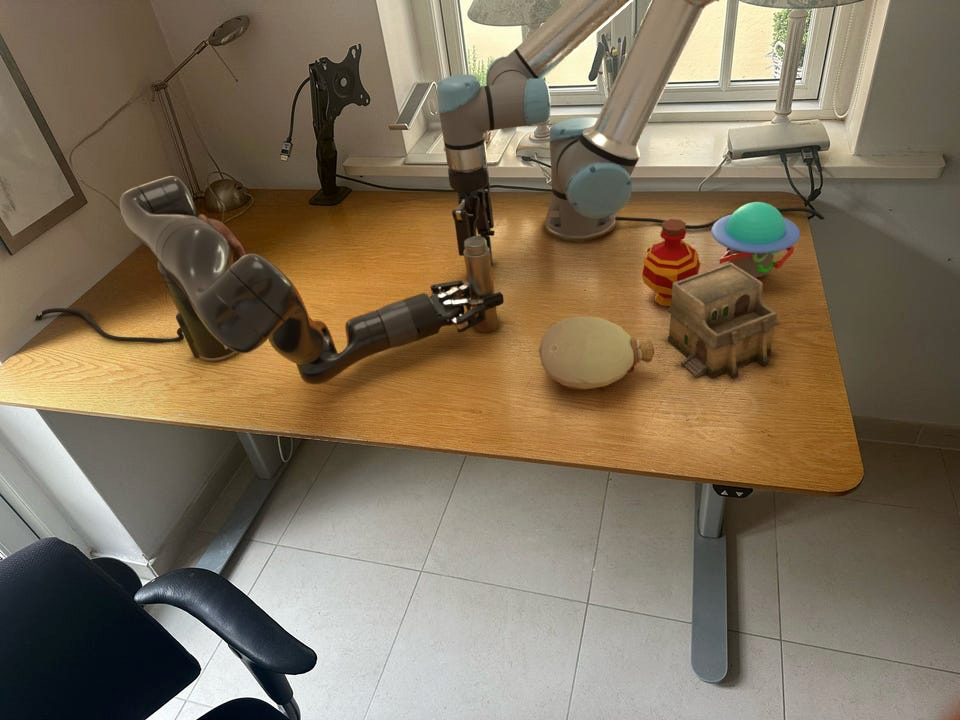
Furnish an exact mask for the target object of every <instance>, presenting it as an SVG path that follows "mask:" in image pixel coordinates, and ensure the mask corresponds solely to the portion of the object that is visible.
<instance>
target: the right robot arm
mask: <svg viewBox="0 0 960 720" xmlns="http://www.w3.org/2000/svg"><path fill="white" fill-rule="evenodd" d="M633 1H634V0H567V1H566V2H565V3H563V5H562V6H560V8H558V9H556V11H555V12H554V13H553V14H551V16H550V17H548V18H547V19H546V20H545V21H544V22H543V23H542V24H541V25H540V26H539V27H538V28H536V29H535V30H534V31H533V32H532V33H531V34H530V35H529V36H528V37H527V38H525V39H524V40H523V41H522V42H521V43H520V44H519V45H517V47H516V48H515V49H513V50H512V51H511V52H509V54H508V55H506V56H500V57H497V58H495V59H494V60H492V62H491V63H490V64H489V66H488V68H487V70H486V75H485V80H486V81H485V82H486V83H485V84H486V85H481V83H480V80H479V78H478V77H477V76H476V75H473V74H467V73H466V74H454V75H449V76H447V77H445V78H443V79H442V80H441V81H439V82H438V84H437V87H436V95H437V96H436V97H437V105H438V106H437V107H438V114H439V119H440V120H439V121H440V126H441V127H440V128H441V132H442V138H443V139H442V140H443V151H444V153H445V158H446V165H447V167H448V168H447V175H448V182H449V186H450V188H451V189H452V190H453V191H455V192H456V193H457V194H458V195H457V203H458V206H457V209H456V208H455V209H452V211H451V215H452V218H453V221H454V228H455V234H456V242H457V249H458V250H457V251H458V255H459V257H464V249H465V247H464V244H465V243H464V241H465V240H466V239H468V238H470V237H473V236H477V234H478V236H481V237H484V238H485V239H486V241H487V246H488V247H489V249H490V251H491V256H492V257H493V252H492V244H491V242H492V241H491V237H494V236H495V230H492V229H494V227H495V223H494V214H493V206H492V198H491V182H490V172H489V165H488V163H487V162H488V153H487V144H486V135H485V132H490V131H497V130H498V131H499V130H504V129H512V128H513V129H514V128H520V127H521V128H522V127H531V126H533V125H534V126H535V125H538V124H543V123H546V122H547V121H549V119H550V117H551V96H550V91H549V90H550V89H549V85H548V82H547V81H546V80H545V78H546V77H547V76H548V75H550V74H551V73H552V72H553V71H554V70H555V69H556V68H557V67H559V65H561V64H562V63H563V62H564V61H565V60H567V59H568V58H569V57H570V56H571V55H572V54H573V53H574V52H575V51H577V50H578V49H579V48H580V47H581V46H582V45H583V44H585V43H586V42H587V41H588V40H589V39H590V38H592V37H593V36H594V35H595V34H596V33H597V32H599V31H600V30H601V29H602V28H603V27H605V26H606V25H607V24H608V23H609V22H610V21H611V20H612V19H613V18H614V17H616V16H617V15H618V14H619V13H620V12H621V11H622V10H624V9H625V8H627V6H628V5H629V4H630V3H632V2H633ZM719 2H720V0H651V1H650V3H649V5H648V7H647V10H646V11H645V14H644V16H643V18H642V20H641V22H640V25H639V27H638V29H637V31H636V33H635V36H634V38H633V40H632V42H631V44H630V47H629V49H628V51H627V53H626V55H625V58H624V60H623V62H622V64H621V66H620V68H619V70H618V72H617V75H616V78H615V79H614V81H613V84H612V86H611V88H610V90H609V93H608V95H607V96H606V97H607V98H606V99H605V102H604V104H603V106H602V107H601V110H600V112H599V115H598V117H577V118H576V117H575V118H570V119H569V118H568V119H564V120H561V121H558V122H556V123H555V124H553V125H552V126H551V127H550V129H549V135H548V137H549V138H548V143H549V155H550V174H551V175H550V176H551V188H552V189H551V190H552V191H551V193H552V194H551V198H550V202H549V206H548V209H547V213H546V216H545V229H546V232H547V233H548V234H549V236H550V235H551V236H552V237H553V238H556V239H558V240H561V241H567V242H586V241H587V242H588V241H594V240H597V239H600V238H604V237H605V236H607V235H608V234H610V233H611V232H613V230H614V229H615V227H616V223H617V221H621V222H623V221H625V222H642V223H643V222H645V223H646V222H647V223H648V222H649V223H657V224H663V222H664V221H667V220H668V219H660V218H653V217H631V216H616V214H617V213H618V212H620V211H621V210H622V209H623V208H624V207H625V206H626V205H627V203H628V201H629V200H630V198H631V195H632V193H633V180H632V173H633V171H634V170H635V167H636V165H637V164H638V162H639V160H640V158H641V154H640V150H639V147H638V143H639V141H640V140H641V138H642V135H643V133H644V131H645V129H646V128H647V125H648V124H649V122H650V119H651V117H652V115H653V113H654V111H655V109H656V107H657V105H658V103H659V101H660V99H661V97H662V96H663V93H664V91H665V89H666V88H667V86H668V83H669V81H670V79H671V77H672V76H673V73H674V71H675V70H676V68H677V65H678V63H679V61H680V59H681V58H682V56H683V53H684V51H685V49H686V47H687V45H688V43H689V41H690V39H691V37H692V35H693V33H694V32H695V29H696V27H697V25H698V23H699V21H700V19H701V17H702V15H703V13H704V11H705V10H706V9H707V8H709V7H711V6H713V5H715V4H717V3H719ZM775 208H776V209H777V210H778V211H779V212H780V213H783V212H784V213H785V212H805V213H809V214H812V215H814V216H816V217H817V218H818V219H820V220H822V221H823V220H825V217H824V216H823V215H822V214H821V213H820V212H819V211H816V210H814V209H811V208H808V207H775ZM733 213H734V212H730V213H728V214H725V215H722V216H721V217H718V218H717V219H715V220H713V221H710V222H708V223H704V224H697V225H695V224H694V225H691V224H686V226H685V230H700V229H708V228H711V227H713V225H714V224H715V223H716V222H717V221H718V220H719V219H721V218H723V217H725V216H728V215H731V214H733ZM493 265H494V261H493V258H492V262H491V267H492V266H493Z"/></svg>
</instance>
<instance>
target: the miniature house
mask: <svg viewBox="0 0 960 720" xmlns="http://www.w3.org/2000/svg"><path fill="white" fill-rule="evenodd" d="M763 288H764V284H763V282H762V281H761V280H759V279H758V278H757V277H756V278H754V277H753V276H751V275H750V274H748V273H747V272H745V271H744V270H742V269H740V268H739V267H737V266H736V265H734V264H733V263H729V262H727V263H724V264H722V265H720V266H719V265H718V266H717V267H714V268H711V269H708V270H706V271H703V272H699V274H697V275H694V276H691V277H688V278H686V279H683V280H680V281H677V282H674V283H673V286H672V301H671V306H669V308H667V309H666V312H667V313H669V314H670V315H669V316H670V318H669V330H668V332H669V333H668V336H667V342H669V343H670V345H672V346H674V348H676V349H677V351H679V352H680V353H682V354H683V355H684V356H685V357H686V358H685V359H684V360H683V361H682V362H680V366H681V367H684V368H686V369H687V370H688V371H689V372H690V373H691V374H693V377H694V378H697V377H700V376H703V375H707V376H708V377H710V378H711V379H713V378H715V377H719V376H721V375H723V374H727V375H728V376H729V377H731V378H732V379H735V378H737V377H739V371H738V368H740V367H743V366H745V365H748V364H751V363H752V362H753V363H754V362H755V361H756V362H758V364H760V365H761V366H763V367H764V366H767V365H769V359H768V356H770V355H771V354H772V345H773V339H774V333H775V327H776V326H779V325H781V322H780V321H778V312H776V311H775V310H773V309H772V308H771V307H769V306H767V305H766V304H765V302H764V301H763Z"/></svg>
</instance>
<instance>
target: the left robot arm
mask: <svg viewBox="0 0 960 720" xmlns="http://www.w3.org/2000/svg"><path fill="white" fill-rule="evenodd" d="M119 210H120V214H121V217H122V219H123V221H124V223H125V225H126V226H127V228H128V229H129V231H130V232H131V233H132V235H133V236H134V237H135V238H136V239H137V241H139V242H140V243H141V244H142V245H143V246H145V247H146V248H147V249H148V250H149V251H150V252H152V254H153V255H154V257H155V259H156V260H157V269H158V272H159V274H160V276H161V278H162V280H163V282H164V284H165V287H166V288H167V291H168V293H169V295H170V297H171V299H172V302H173V304H174V306H175V307H176V310H177V313H176V315H175V320H176V322H177V324H178V326H179V327H178V328H177V330H176V334H177V336H176V337H172V338H161V337H160V338H159V337H157V338H156V337H144V336H117V335H113V334H109V333H107V332H106V331H104V330H103V328H102V327H100V325H99V324H98V323H97V322H95V321H94V320H93V319H92V317H90V315H89V314H87V312H85V311H83V310H81V309H77V308H66V307H53V308H46V309H44V310H41V311H42V315H40V316H38V315H37V314H36V316H35V321H38V320H41V319H42V317H43V316H46V315H48V314H52V313H53V314H55V313H62V314H63V313H65V314H74V315H80V316H81V317H83V318H84V320H86V322H87V323H88V324H89V325H90V326H92V327H93V328H94V329H95V331H96V332H97V334H99V335H100V336H102V337H103V338H105V339H107V340H111V341H115V342H123V343H152V344H153V343H155V344H163V343H178V342H182V341H183V340H184V338H185V340H186V342H187V345H188V347H189V348H190V351H191V353H192V355H193V357H194V359H200V360H201V361H204V362H208V363H209V362H210V363H214V362H215V363H216V362H221V361H225V360H228V359H230V358H233V357H235V356H236V355H238V354H239V353H240V354H249V353H252V352H254V351H256V350H257V349H258V348H260V347H261V346H263V345H264V343H266V342H267V341H269V343H270V346H271V347H272V349H274V351H275V352H276V353H278V354H279V355H280V356H282V357H283V358H285V359H286V360H287V361H289V362H291V363H294V364H295V365H296V367H297V370H298V373H299V376H300V378H301V380H302V381H303V382H305V383H306V384H308V385H313V386H314V385H315V386H316V385H317V386H318V385H319V386H320V385H322V384H326V383H328V382H330V381H331V380H334V378H336V377H337V376H339V375H340V374H342V373H343V372H344V371H346V370H347V369H349V368H351V367H352V366H353V365H355V364H357V363H358V362H361V361H362V360H364V359H366V358H368V357H370V356H373V355H376V354H379V353H382V352H385V351H387V350H391V349H395V348H400V347H404V346H407V345H409V344H412V343H416V342H418V341H421V340H424V339H427V338H429V337H433V336H435V335H438V334H439V332H440V329H441V328H442V327H446V326H447V327H448V326H454V327H456V329H457V332H458V333H460V334H462V333H464V332H466V331H468V330H469V329H472V328H474V327H475V325H476V324H478V323H480V322H481V321H483V320H485V319H486V315H485V311H486V310H488V309H491V308H494V307H496V308H497V307H499V306H501V305H503V304H504V302H505V301H504V300H505V299H504V294H503V293H502V292H501V291H498V292H494V293H495V294H492V295H489V296H486V297H483V298H482V299H476V300H470V293H469V286H468V282H467V283H464V281H463V280H462V279H459V280H453V281H446V282H440V283H433V284H431V285H430V291H431V295H428V294H427V293H426V292H422V293H419V294H416V295H413V296H410V297H407V298H404V299H401V300H398V301H394V302H392V303H389V304H387V305H384V306H382V307H380V308H378V309H375V310H373V311H369V312H366V313H364V314H360V315H357V316H354V317H351V318H349V319H348V320H347V321H346V322H345V324H344V330H345V338H346V347H344V349H343V350H342V351H340V352H338V350H337V347H336V345H335V341H334V339H333V336H332V334H331V331H330V329H329V327H328V325H327V324H326V323H325V322H324V321H322V320H313V319H312V318H311V317H310V316H309V313H308V310H307V307H306V304H305V302H304V299H303V298H302V296H301V294H300V292H299V291H298V288H297V287H296V286H295V285H294V283H293V282H292V281H291V280H290V279H289V277H288V276H287V275H286V274H285V273H284V272H283V271H282V270H281V269H279V267H277V266H276V265H275V264H274V263H272V262H271V261H270V260H269V259H268V258H266V257H264V256H262V255H261V254H258V253H253V252H249V253H245V255H244V256H242V257H241V258H239V259H237V260H235V261H234V253H233V249H232V248H231V247H230V245H229V243H228V241H227V240H226V238H225V237H224V236H223V235H222V234H221V233H220V232H218V231H217V230H216V229H215V228H214V227H213V226H212V225H211V224H209V223H208V222H206V221H205V220H203V219H201V218H199V212H198V209H197V207H196V204H195V201H194V199H193V197H192V194H191V192H190V190H189V188H188V187H187V185H186V183H184V181H183V180H182V179H181V178H179V177H178V176H176V175H168V176H165V177H161V178H159V179H156V180H155V179H154V180H153V181H149V182H146V183H144V184H141V185H138V186H135V187H132V188H130V189H128V190H126V191H125V192H123V193H122V195H121V196H120V198H119ZM472 306H477V307H475V308H473V309H472ZM465 308H466V309H465ZM465 310H466V311H465ZM475 315H478V316H477V317H475Z"/></svg>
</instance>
